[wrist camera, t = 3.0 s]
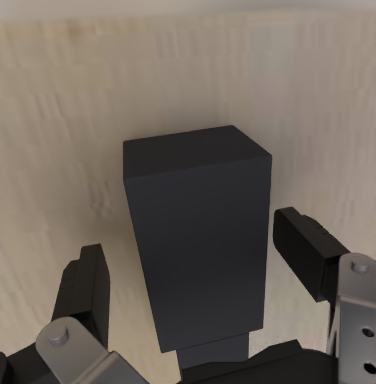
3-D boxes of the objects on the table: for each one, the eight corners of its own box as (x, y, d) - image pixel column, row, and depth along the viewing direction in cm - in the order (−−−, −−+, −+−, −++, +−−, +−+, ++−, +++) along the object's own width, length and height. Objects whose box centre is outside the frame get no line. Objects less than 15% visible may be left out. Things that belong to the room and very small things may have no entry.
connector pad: (233, 124, 13) (273, 154, 10) (236, 307, 19) (261, 367, 16) (122, 140, 13) (122, 179, 9) (160, 325, 18) (169, 391, 15)
